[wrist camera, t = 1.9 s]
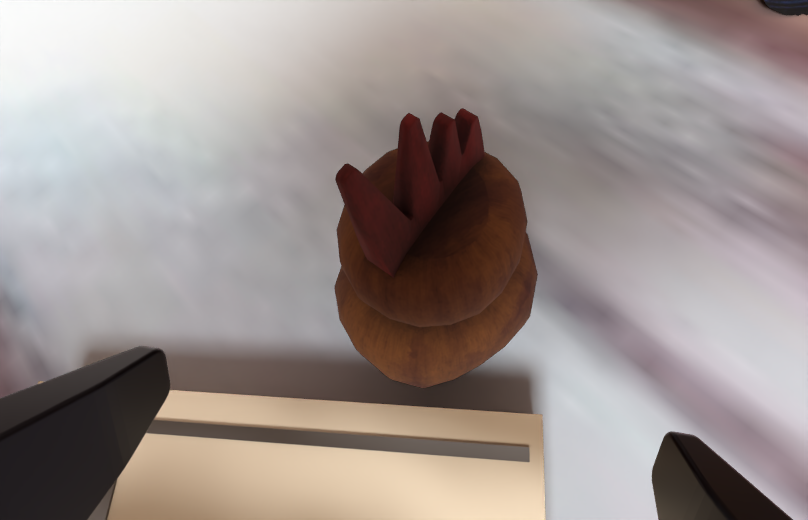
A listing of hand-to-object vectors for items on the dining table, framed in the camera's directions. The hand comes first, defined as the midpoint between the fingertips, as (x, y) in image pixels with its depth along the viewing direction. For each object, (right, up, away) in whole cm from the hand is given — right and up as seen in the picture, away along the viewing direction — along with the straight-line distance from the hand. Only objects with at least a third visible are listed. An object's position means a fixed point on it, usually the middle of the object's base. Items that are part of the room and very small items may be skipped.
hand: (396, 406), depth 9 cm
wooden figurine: (+2, 0, +13) cm, 13 cm away
